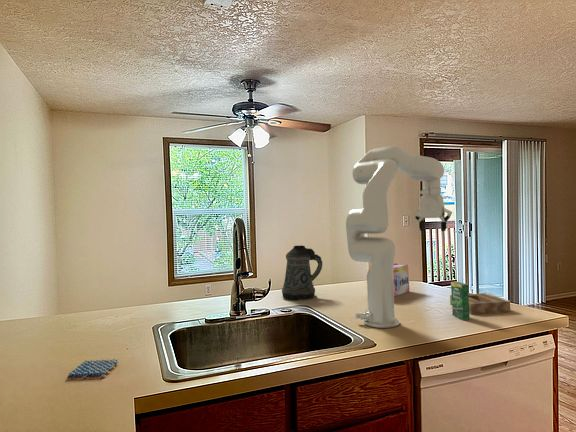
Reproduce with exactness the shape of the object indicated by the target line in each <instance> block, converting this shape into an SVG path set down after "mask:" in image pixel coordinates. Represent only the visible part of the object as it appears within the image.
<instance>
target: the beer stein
mask: <svg viewBox="0 0 576 432" xmlns="http://www.w3.org/2000/svg"><path fill="white" fill-rule="evenodd" d="M285 259H286V269H285V275H284V282H283V285H282V287H281V294H282V298H283V299H284V300H288V301H307V300H310V299H314V298H315V293H316V288H315V287H314V286H315V285H314V282H313V281H314V280H315V279H316V278H317V277H318V276H319V274H321V271H322V269H323V261H322V257H321V256H320V255H318V254H316V253H315V251H314V250H313V248H307V247H306V246H305V245H294V246H293V248H291V250H289V251H288V252H287V253H286V254H285ZM310 261H316V263H317V266H316V269H315V271H314V272H313V273H311V266H310V265H311V264H310V263H311V262H310Z"/></svg>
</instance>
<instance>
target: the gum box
mask: <svg viewBox="0 0 576 432" xmlns="http://www.w3.org/2000/svg"><path fill="white" fill-rule="evenodd" d="M393 283H394V297H398V296H400V295H402V294H405V293H409V292H410V278H409V264H405V265H403V264H398V263H394V265H393Z"/></svg>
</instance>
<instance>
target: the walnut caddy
mask: <svg viewBox="0 0 576 432" xmlns="http://www.w3.org/2000/svg"><path fill="white" fill-rule="evenodd" d="M449 303H450V305H451V306H452V294H450V295H449ZM510 312H511V300H509V299H506V298H503V297H501V296H497V295H494V294H491V293H489V292H481V293H469V315H483V314H484V315H485V314H498V313H510Z"/></svg>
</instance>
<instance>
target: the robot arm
mask: <svg viewBox="0 0 576 432" xmlns="http://www.w3.org/2000/svg"><path fill="white" fill-rule="evenodd" d="M398 173H400V174H403V175H408V176H409V178H410V179H411V180H412V181H415V182H422V190H420V191H419V194H420V195H421V196H420V201H419V207H418V208H419V209H417V210H416V211H414V212H413V216H414V218H415V220H416V221H417V222H418V223H419V224H418V226H419V230H420V232H423V231H425V227H426V226H425V219H436V218H437V219H440V220H441V222H440V230H441V232H445V231H446V230H447V222H448V220H449V219H451V216H452V214H453V211H451V210H449V209H447V208H446V207H445V203H444V202H445V201H444V198H443V195H442V194H441V193H442V192H441V189H442V188H441V178H442V177H444V174H445V167H444V165H443V163H442V162H440V161H439V160H438V159H436V158H433V157H430V156H423V155H419V154H412V153H410V152H408V151H406V150H405V149H403V148H401V147H399V146H397V145H389V146H388V145H387V146H382V147H375V148H372V149H370V150H369V151H368V152H366V153H365V154H364V155H363V156H362V157H361V158H360V159H359V160H358V161H357V162H356V163H355V164H354V166H353V168H352V173H351V174H352V178H353V181H355V183H356V184H358V185H366V186H365V188H364V189H363V192H362V207H360V208H353V209H351V210H350V211H349V212H348V213H347V216H346V219H345V230H346V231H345V232H346V240H347V249H348V255H349V256H350V259H351V260H353V261H355V262H360V263H369V264H371V266H370V267H369V269H368V271H367V273H366V290H367V293H366V294H367V295H366V296H367V309H365V311H363V312H357V313H355V314H354V317H355V319H356V320H357V319H360V320H363V323H364V324H365V325H366V326H367V327H368V326H369V327H372V328H380V329H389V328H394V327H397V326H399V325H400V319H398V318H397V317H396V316H395V296H394V283H393V265H394V264H395V263H394V262H395V258H396V257H395V256H396V245H395V243H394V241H393V240H391V239H390V238H388V237H382V236H365V235H366V234H367V235H368V234H370V235H372V234H373V235H374V234H375V235H377V234H379V235H380V234H383V233H386V232H387V231H388V228H389V213H388V201H387V198H388V197H387V196H388V195H387V194H388V190H389V187H390V185H391V183H392V182H393V180H394V179H395V178H396V176H397V174H398ZM446 213H447V214H446Z"/></svg>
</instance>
